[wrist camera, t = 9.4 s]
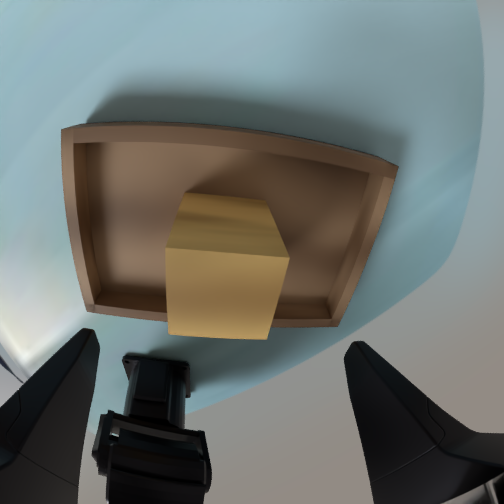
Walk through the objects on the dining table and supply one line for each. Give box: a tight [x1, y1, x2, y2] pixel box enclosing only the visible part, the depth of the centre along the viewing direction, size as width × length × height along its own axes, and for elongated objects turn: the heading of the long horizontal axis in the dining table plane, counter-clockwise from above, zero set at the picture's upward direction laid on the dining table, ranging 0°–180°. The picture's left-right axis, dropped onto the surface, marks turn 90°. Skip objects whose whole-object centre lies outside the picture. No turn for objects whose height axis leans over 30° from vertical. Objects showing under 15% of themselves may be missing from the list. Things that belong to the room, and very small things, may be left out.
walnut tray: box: [61, 122, 399, 327], centre depth 16 cm, size 12×18×2 cm, turn 81°
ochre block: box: [165, 192, 290, 340], centre depth 13 cm, size 4×4×6 cm
